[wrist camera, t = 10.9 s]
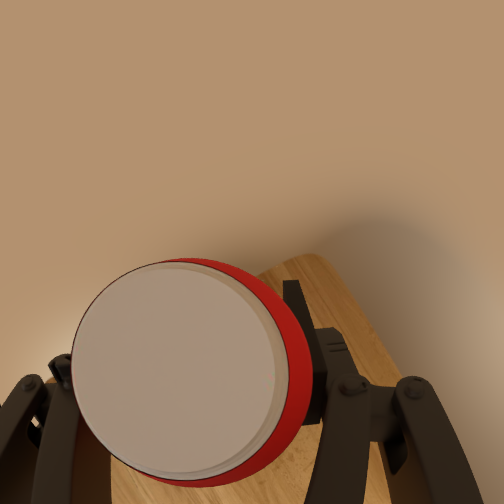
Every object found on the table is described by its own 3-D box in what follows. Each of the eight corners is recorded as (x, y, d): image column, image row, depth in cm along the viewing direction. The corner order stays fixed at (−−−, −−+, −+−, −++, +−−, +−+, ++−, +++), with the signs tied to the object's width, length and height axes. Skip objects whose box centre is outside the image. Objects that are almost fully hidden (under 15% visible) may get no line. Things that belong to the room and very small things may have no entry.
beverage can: (173, 343, 17) (43, 266, 6) (269, 319, 17) (273, 199, 6) (195, 436, 14) (77, 503, 3) (297, 413, 14) (363, 472, 4)
